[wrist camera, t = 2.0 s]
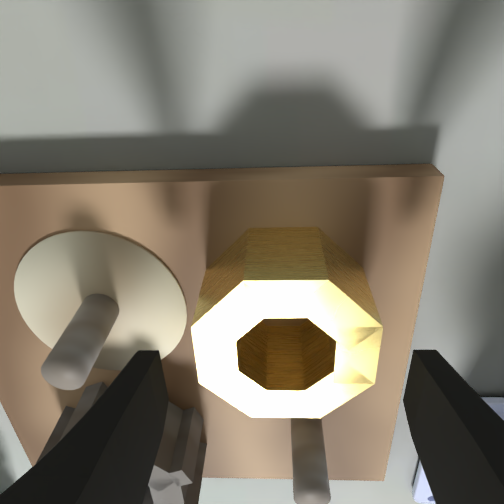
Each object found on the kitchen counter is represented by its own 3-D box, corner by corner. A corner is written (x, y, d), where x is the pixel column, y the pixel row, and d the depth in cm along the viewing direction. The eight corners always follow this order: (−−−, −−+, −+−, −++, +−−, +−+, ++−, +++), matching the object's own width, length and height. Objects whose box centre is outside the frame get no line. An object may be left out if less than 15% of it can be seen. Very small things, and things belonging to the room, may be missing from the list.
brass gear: (367, 226, 14) (390, 279, 11) (353, 351, 17) (369, 418, 14) (201, 228, 14) (183, 281, 12) (215, 351, 17) (203, 416, 14)
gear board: (431, 163, 14) (501, 232, 10) (378, 458, 22) (404, 568, 18) (-80, 175, 15) (-220, 243, 11) (46, 453, 23) (-6, 555, 19)
